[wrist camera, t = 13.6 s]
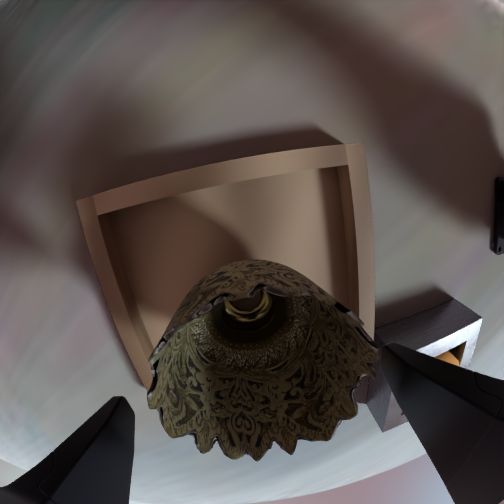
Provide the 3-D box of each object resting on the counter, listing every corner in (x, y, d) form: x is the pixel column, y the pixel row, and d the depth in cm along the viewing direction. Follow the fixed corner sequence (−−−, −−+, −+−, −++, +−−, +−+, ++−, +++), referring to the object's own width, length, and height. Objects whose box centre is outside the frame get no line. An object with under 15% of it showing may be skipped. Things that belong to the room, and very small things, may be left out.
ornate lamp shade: (288, 358, 17) (324, 462, 9) (169, 339, 16) (143, 449, 8) (329, 246, 15) (416, 315, 7) (192, 213, 14) (157, 265, 6)
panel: (454, 298, 18) (482, 317, 15) (439, 372, 20) (459, 393, 17) (372, 329, 18) (396, 358, 14) (366, 404, 20) (382, 432, 17)
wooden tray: (345, 145, 14) (363, 142, 12) (359, 355, 18) (371, 373, 16) (93, 196, 14) (75, 200, 12) (165, 395, 18) (161, 416, 16)
